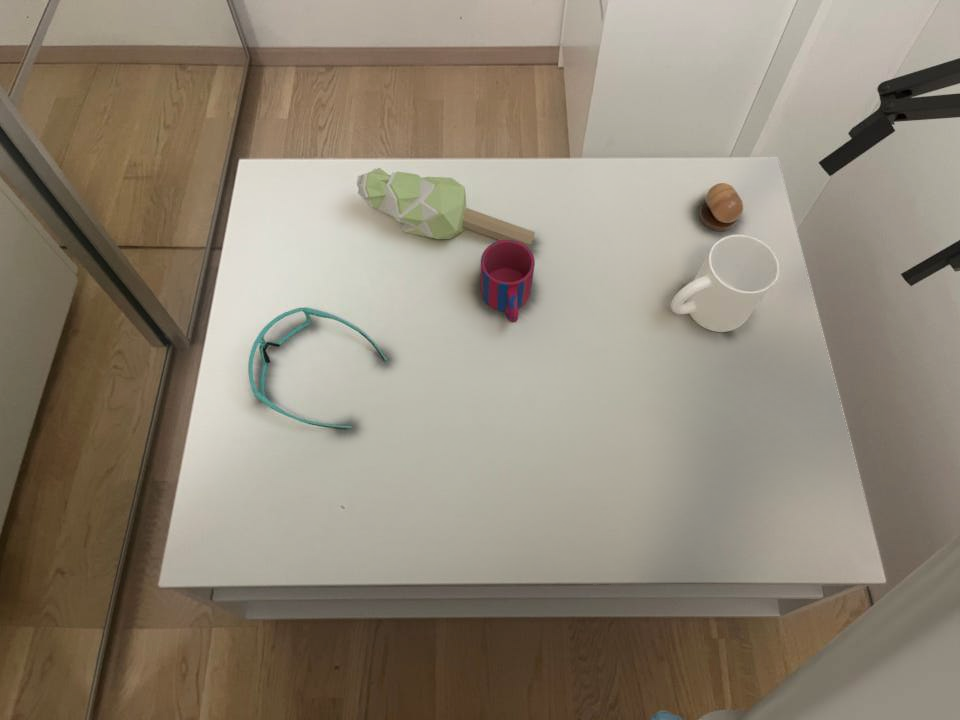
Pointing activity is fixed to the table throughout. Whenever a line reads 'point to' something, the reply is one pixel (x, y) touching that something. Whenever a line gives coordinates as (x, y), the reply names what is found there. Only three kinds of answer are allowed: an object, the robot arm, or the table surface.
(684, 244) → the table surface
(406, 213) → the decorative object
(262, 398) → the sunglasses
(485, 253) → the cup
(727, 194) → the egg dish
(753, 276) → the mug
